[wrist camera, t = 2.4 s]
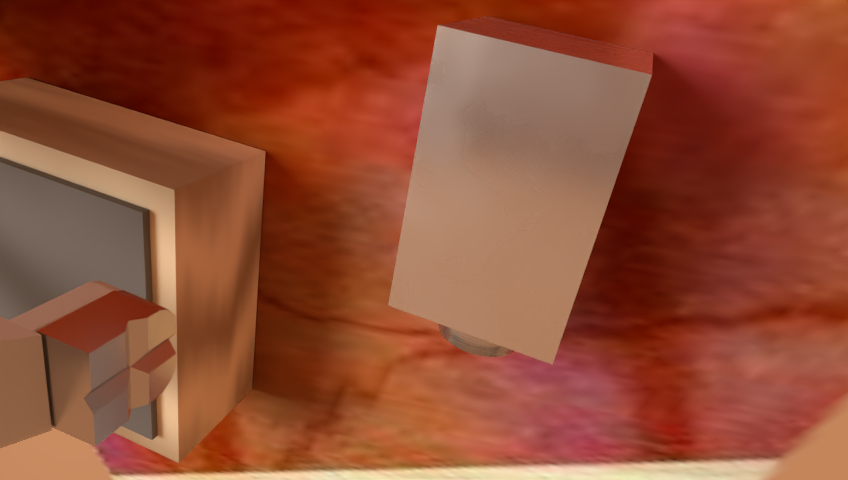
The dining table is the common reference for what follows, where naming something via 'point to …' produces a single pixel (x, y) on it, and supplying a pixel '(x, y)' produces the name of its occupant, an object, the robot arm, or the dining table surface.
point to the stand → (137, 238)
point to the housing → (512, 180)
